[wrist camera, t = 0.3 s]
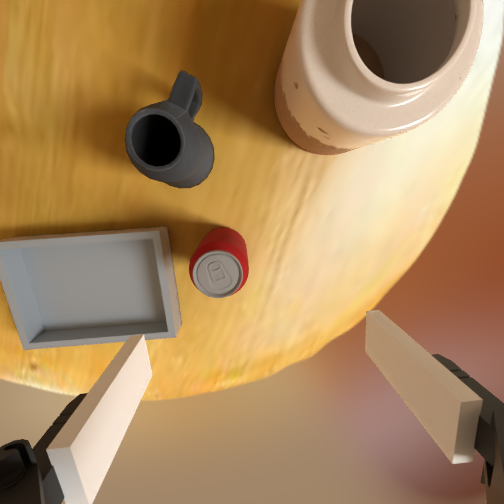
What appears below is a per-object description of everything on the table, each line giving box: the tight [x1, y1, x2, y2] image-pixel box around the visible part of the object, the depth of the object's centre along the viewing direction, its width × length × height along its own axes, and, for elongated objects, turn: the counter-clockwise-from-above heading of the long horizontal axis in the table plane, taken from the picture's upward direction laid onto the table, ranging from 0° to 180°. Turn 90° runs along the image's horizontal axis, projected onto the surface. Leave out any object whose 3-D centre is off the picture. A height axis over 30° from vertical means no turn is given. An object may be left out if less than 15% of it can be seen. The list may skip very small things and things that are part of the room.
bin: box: [0, 226, 182, 350], centre depth 37 cm, size 16×22×4 cm
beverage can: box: [189, 228, 249, 298], centre depth 33 cm, size 7×7×12 cm
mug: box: [125, 70, 214, 188], centre depth 29 cm, size 12×9×11 cm
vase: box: [274, 0, 483, 155], centre depth 26 cm, size 15×15×17 cm
